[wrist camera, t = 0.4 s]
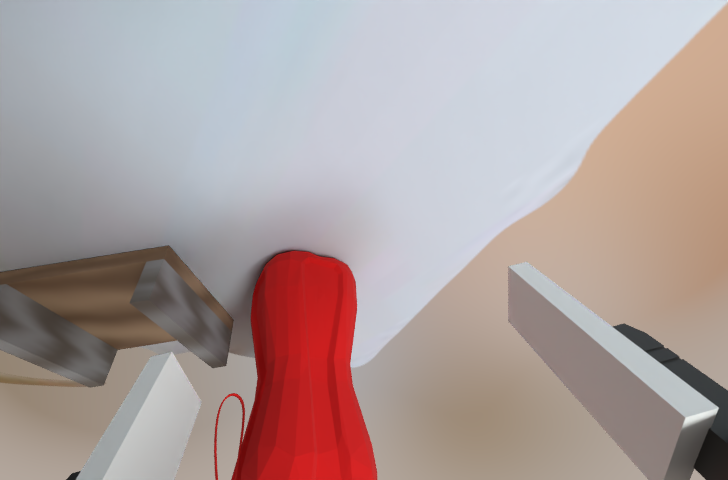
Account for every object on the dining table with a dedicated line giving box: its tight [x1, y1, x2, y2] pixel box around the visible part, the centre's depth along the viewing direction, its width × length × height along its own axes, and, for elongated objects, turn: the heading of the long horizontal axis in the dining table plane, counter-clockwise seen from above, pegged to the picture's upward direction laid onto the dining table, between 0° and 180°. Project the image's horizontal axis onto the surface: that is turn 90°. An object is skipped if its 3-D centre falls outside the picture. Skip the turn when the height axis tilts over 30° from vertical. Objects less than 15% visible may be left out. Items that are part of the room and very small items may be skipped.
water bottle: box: [214, 251, 377, 480], centre depth 25 cm, size 9×11×25 cm
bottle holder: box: [0, 246, 234, 387], centre depth 32 cm, size 14×15×6 cm
